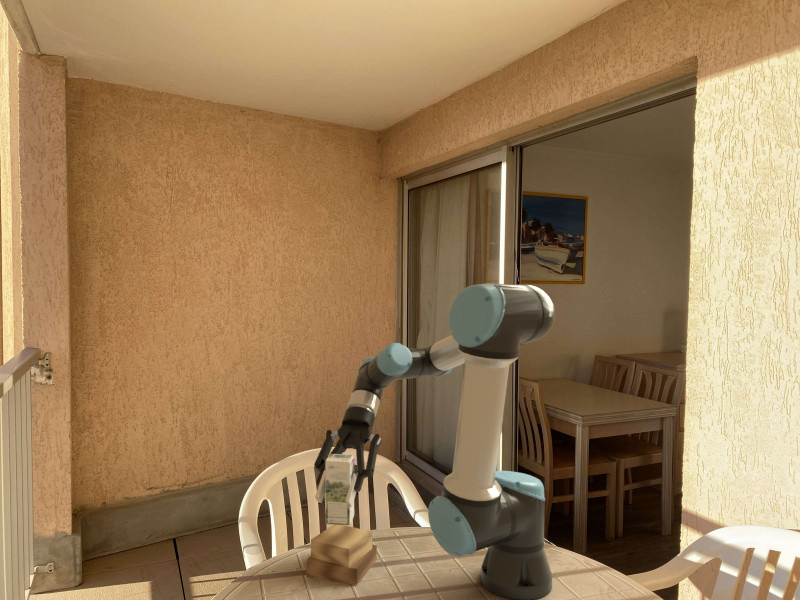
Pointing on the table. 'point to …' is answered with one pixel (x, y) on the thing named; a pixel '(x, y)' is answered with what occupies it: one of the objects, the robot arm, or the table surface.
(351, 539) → the oak block
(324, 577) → the walnut block
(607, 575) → the table surface
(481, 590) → the table surface
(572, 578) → the table surface
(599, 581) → the table surface
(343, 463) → the syrup box
